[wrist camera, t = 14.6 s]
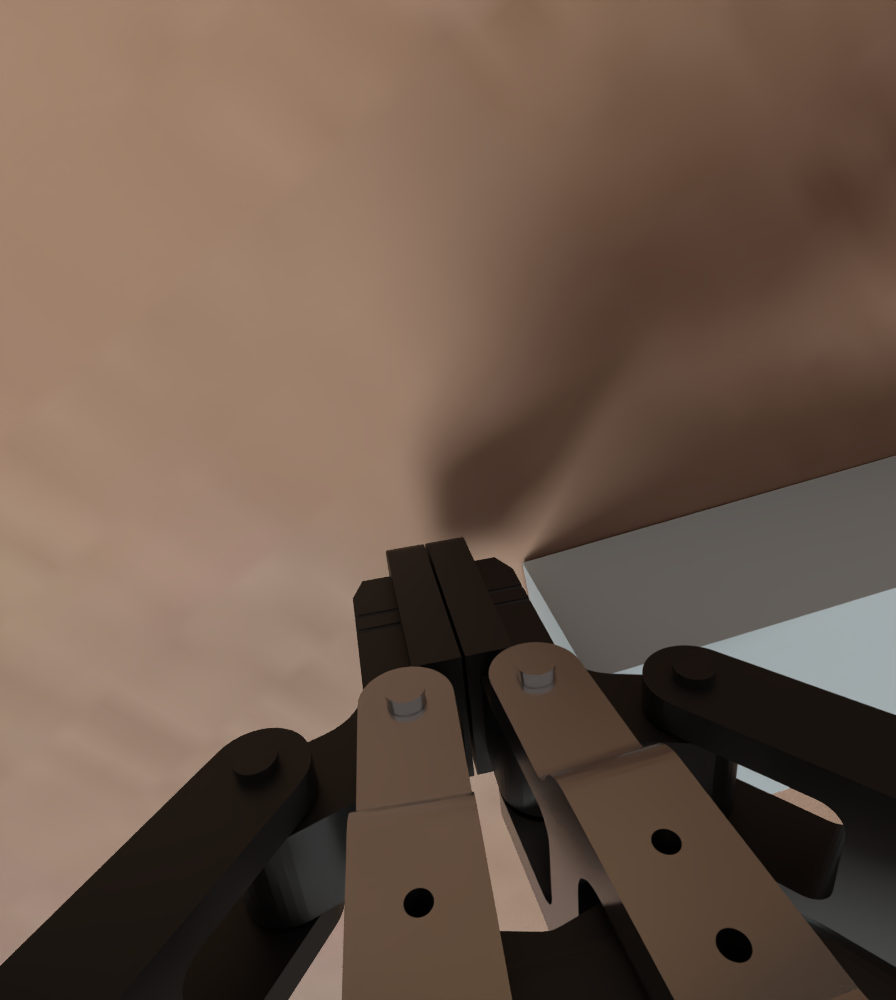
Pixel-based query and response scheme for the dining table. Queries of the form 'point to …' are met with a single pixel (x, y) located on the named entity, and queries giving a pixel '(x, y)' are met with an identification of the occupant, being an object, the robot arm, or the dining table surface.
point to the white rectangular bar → (744, 588)
